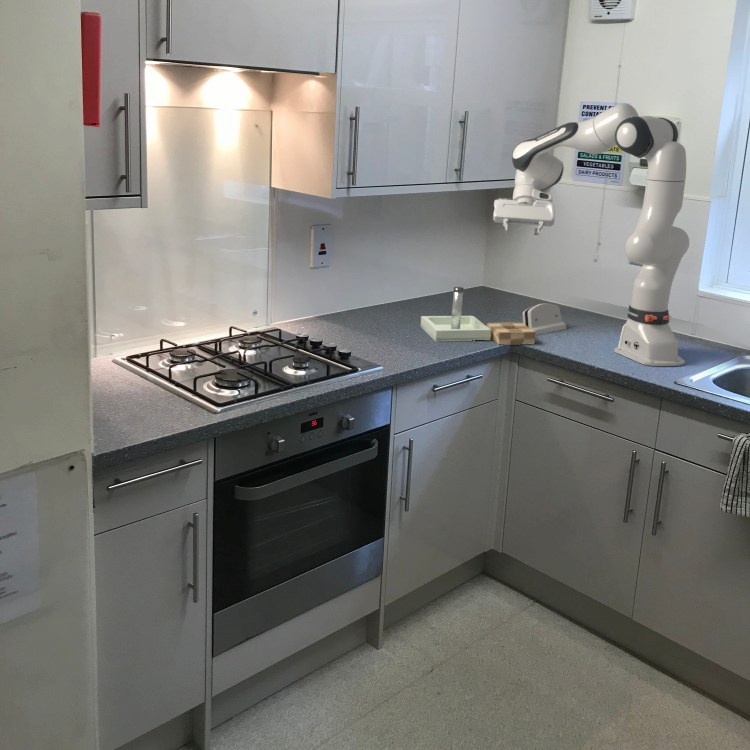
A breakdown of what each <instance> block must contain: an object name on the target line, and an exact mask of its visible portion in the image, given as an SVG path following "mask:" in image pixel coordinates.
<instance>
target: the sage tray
mask: <svg viewBox="0 0 750 750" xmlns="http://www.w3.org/2000/svg"><path fill="white" fill-rule="evenodd" d="M451 320H452V315H428V316H427V315H421V316H420V328H421V329H422V330H424V332H426V334H427V335H429V336H430V337H431V339H433V340H434V342H476V341H475V340H490V341H491V338H490V337H491V330H490V329H489V328H488V327H487V325H485V324H484V323H483V322H482V321H480V320H479V319H478V318H477V317H475V316H474V315H461V324H460V329H451ZM472 340H473V341H472Z"/></svg>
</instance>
